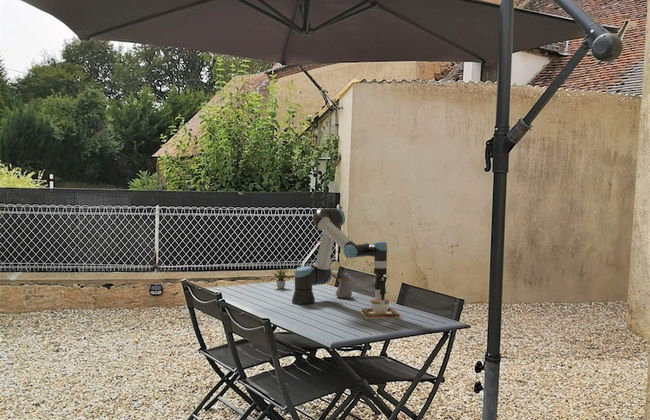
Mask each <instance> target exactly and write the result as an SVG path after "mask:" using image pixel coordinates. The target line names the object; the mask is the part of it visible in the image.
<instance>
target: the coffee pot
mask: <svg viewBox="0 0 650 420" xmlns="http://www.w3.org/2000/svg"><path fill="white" fill-rule="evenodd" d="M332 277H334V279H335V280H337V281H338V282H339V284H338V287H337V290H336V292H335V296H337V298H338V297H340V298H339V299H342V298H346V299H349V298H350V297H352V295H353V292H352V289H351V287H350V286H349V283H348V282H349V278H338V277H337V276H336V275H335V274H333V273H332Z"/></svg>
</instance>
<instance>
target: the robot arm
mask: <svg viewBox="0 0 650 420" xmlns="http://www.w3.org/2000/svg"><path fill="white" fill-rule="evenodd" d="M344 213H345V212H344V211H343V210H342V209H341V208H338V207H337V208H335V207H333V208H330V207H329V208H323V207H322V208H319V209H317V210H315V212H314V214H313V216H312V222H313V224H314V226H315V227H316V229H318V230H319V231H322V235H321V239H320V244H319V248H318V252H317V256H316V260H315V262H313V264H312V266H310V265H309V266H308V265H305V266H299V267H297V268H295V270H294V292H293V295H292V297H291V298H292V299H291V303H292V304H294V305H313V304H315V303H316V298H315V295H314V293H313V286H318V285H320V286H321V285H326V284H329V283H330V282H331V281H332V277H333V276H332V274H333V271H332V269H331V266H330V260H331V258H332V257H331V255H332V253H333V247H334V243H335V244H336V245H337V246H338V247H339V248H341V249H342V250H343V251H342V252H343V254H344V257H346V258H347V259H352V258H353V259H354V258H362V257H373V258H374V259H373V260H374V261H373V262H372V263H373V264H374V265H373V266H374V268H373V269H374V271H373V273H374V275H375V282H374V289H375V295H374V296H375V298H374V300H375V299H379V298H380V305H385V300H386V298H385V297H386V294H387V292H386V277H384V275H387V273H388V272H387V271H388V243H387V242H386V241H375V242H374V244H373V243H368V242H366V243H365V242H364V243H361V244H356V243H355V242H354V241H353V240H352V239H350V238H349V237H348V236H347V235H346V234H345V233H344V232H343V231H342V230H341V226H343V225H344V224H345V222H346V216H345V214H344Z"/></svg>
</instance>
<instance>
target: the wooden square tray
mask: <svg viewBox="0 0 650 420" xmlns="http://www.w3.org/2000/svg"><path fill="white" fill-rule="evenodd" d="M358 312H359V313H360V314H361V315H362V316H363V318H365V320H368V319H371V320H373V319H402V318H403V316H402V315H401V314H400V313H398V311H397V310H395V308H393V307H389V308H388V311H387V312H386V313H385V314H375V313H374V312H373V310H372V307H368V308H367V307H365V308H361V309H360V310H358Z"/></svg>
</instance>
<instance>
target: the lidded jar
mask: <svg viewBox="0 0 650 420" xmlns="http://www.w3.org/2000/svg"><path fill="white" fill-rule="evenodd" d="M370 303H371V308H372V310H373V312H374V313H375V314H385V313H386V312H387V311H388V308H390V300H388V299H385V305H380V298H379V299H375V298H374V299H372V300H371V301H370Z"/></svg>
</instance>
